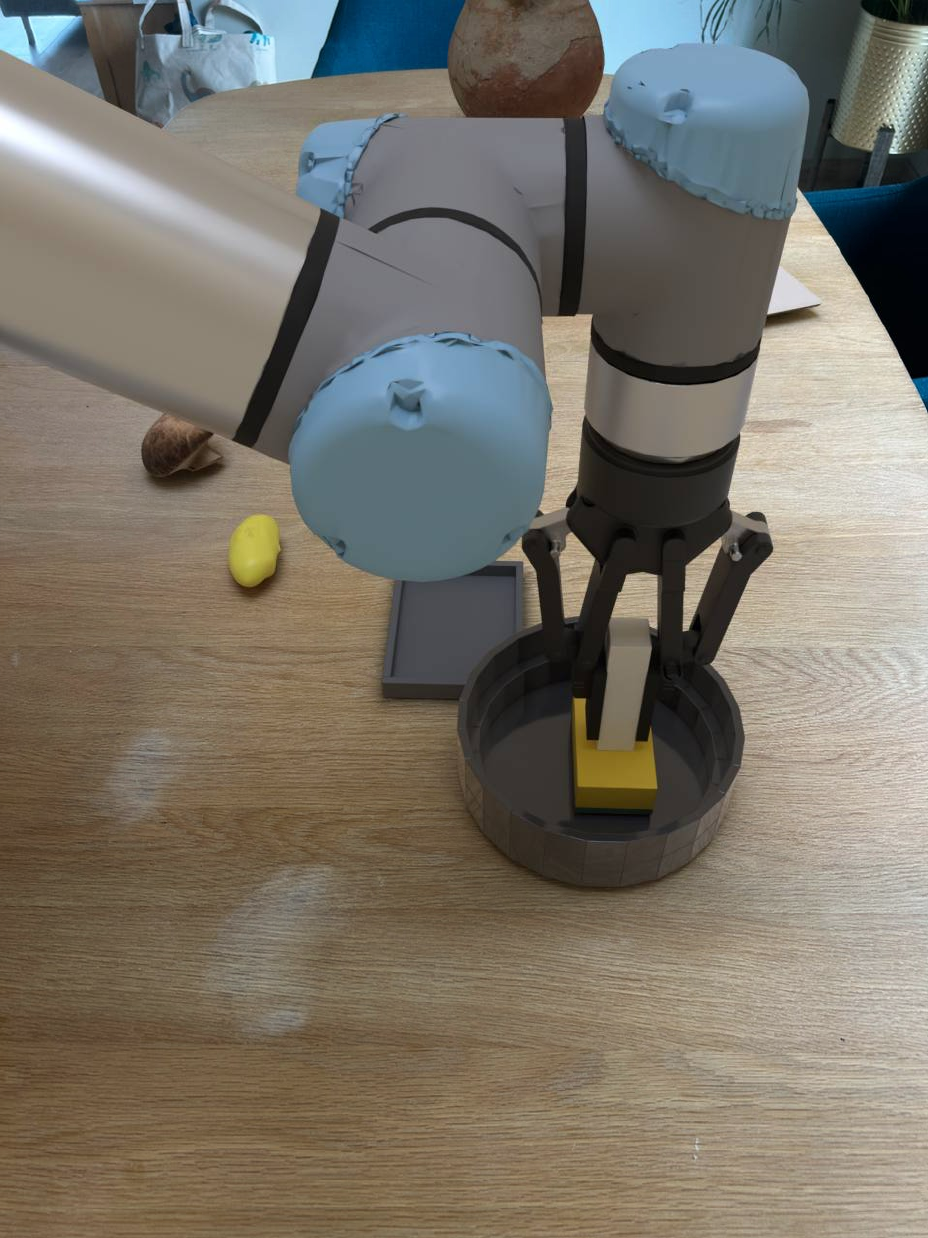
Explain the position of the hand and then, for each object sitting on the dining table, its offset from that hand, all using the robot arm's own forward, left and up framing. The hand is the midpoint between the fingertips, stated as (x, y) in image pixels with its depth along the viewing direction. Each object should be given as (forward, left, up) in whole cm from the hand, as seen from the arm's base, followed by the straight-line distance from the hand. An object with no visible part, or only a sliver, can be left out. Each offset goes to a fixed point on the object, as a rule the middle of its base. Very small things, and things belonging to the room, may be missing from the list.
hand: (615, 723), depth 64 cm
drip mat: (-17, +1, -6) cm, 18 cm away
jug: (-83, +74, -6) cm, 111 cm away
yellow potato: (-34, -6, -6) cm, 35 cm away
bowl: (-1, -1, -6) cm, 6 cm away
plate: (-37, +57, -6) cm, 68 cm away
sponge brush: (0, 0, -4) cm, 4 cm away
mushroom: (-50, -3, -6) cm, 50 cm away
